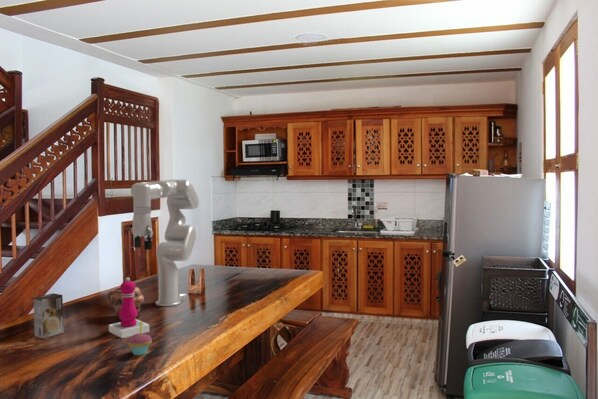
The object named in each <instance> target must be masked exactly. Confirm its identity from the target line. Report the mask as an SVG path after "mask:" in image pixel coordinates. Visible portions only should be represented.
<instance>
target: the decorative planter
mask: <svg viewBox="0 0 598 399" xmlns="http://www.w3.org/2000/svg"><path fill="white" fill-rule="evenodd" d="M107 299H108V301H109V303H110V304H111V305H112V307H113V309H114V311H115V314H116V318H118V319H120V317H119V313H120V310H121V308H122V304H123V297H122V291H121V290H120V287H116V288H114V289H112V290H110V291H109V292H108V293H107ZM133 302H134V305H135V307H136V309H137V314H138V315H137V317H136V318H135V319H137V318H138V317H141V305H142V304H143V303H144V302H145V297H144V295H143V293H142V291H141V289H140V288H139V287H137V286H135V290H134V296H133ZM120 320H121V319H120Z"/></svg>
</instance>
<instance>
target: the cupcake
mask: <svg viewBox="0 0 598 399" xmlns="http://www.w3.org/2000/svg"><path fill="white" fill-rule="evenodd" d="M142 322H143V321H142ZM142 322H140V334H135V335H133V336H130V337H129V338H128V339H127V346H128V347H129V348H130V350H131V351H132V354H133V355H134V356H143V355H146V354H147V352H148V350H149V346H150V345H151V344H152V343H153V338H152V337H151V336H150V335H149V334H147V333H142Z"/></svg>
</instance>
